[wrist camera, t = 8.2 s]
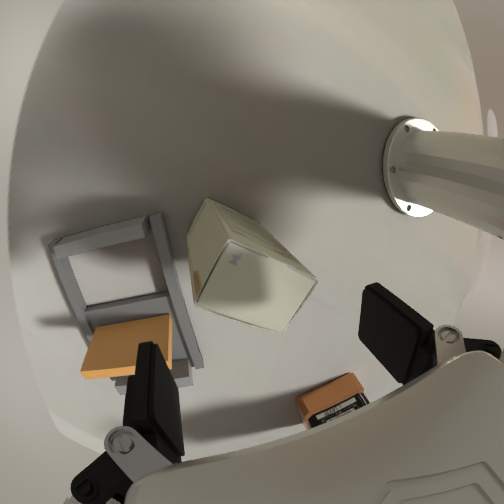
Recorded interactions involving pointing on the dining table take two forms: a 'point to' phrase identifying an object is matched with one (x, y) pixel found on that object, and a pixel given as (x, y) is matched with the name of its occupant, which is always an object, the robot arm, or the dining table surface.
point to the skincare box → (244, 270)
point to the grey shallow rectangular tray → (135, 308)
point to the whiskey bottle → (331, 401)
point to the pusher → (125, 346)
